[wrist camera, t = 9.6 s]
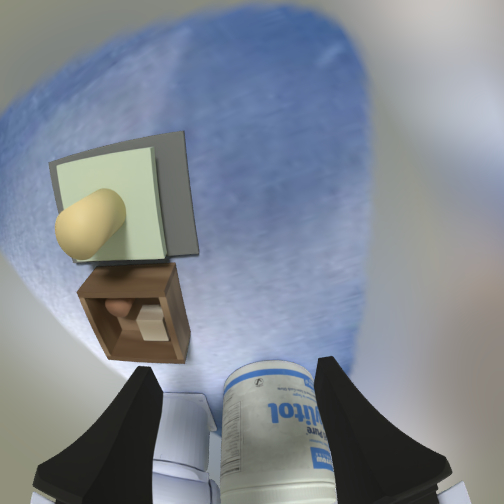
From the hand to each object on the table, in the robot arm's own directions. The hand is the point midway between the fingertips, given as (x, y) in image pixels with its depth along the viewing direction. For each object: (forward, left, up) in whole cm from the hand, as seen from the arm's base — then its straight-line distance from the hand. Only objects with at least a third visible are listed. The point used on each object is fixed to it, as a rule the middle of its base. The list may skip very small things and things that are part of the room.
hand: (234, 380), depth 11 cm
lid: (+6, +8, -10) cm, 14 cm away
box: (-3, +8, -11) cm, 14 cm away
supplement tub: (-15, -2, -11) cm, 19 cm away
